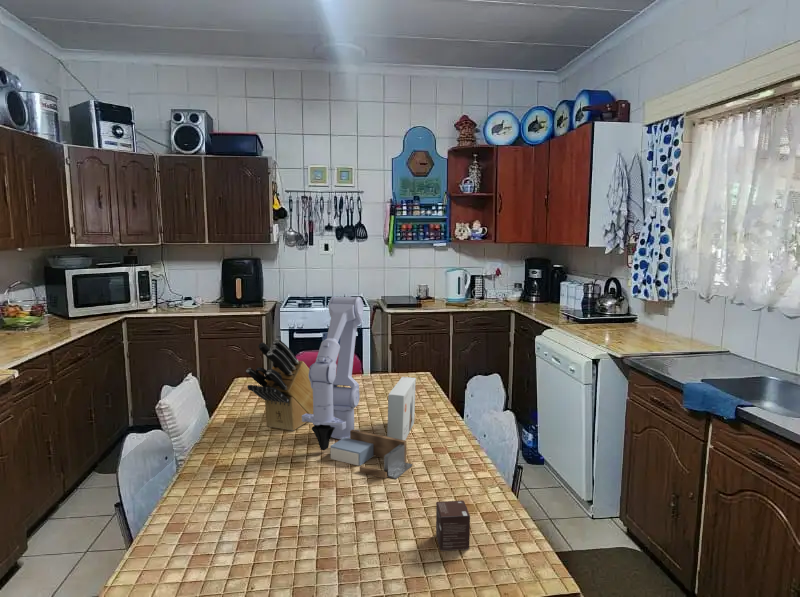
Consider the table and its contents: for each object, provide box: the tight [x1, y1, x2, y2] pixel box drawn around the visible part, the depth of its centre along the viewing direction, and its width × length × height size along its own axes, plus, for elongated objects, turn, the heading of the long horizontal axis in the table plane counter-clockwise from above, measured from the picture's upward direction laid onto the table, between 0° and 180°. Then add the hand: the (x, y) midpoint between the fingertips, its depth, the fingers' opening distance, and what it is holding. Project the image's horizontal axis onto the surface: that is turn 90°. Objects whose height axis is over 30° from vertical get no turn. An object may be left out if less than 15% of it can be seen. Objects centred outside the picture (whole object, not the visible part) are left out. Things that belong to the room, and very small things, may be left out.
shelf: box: [350, 429, 408, 479], centre depth 141 cm, size 18×12×6 cm, turn 61°
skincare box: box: [386, 376, 417, 441], centre depth 162 cm, size 21×6×16 cm, turn 168°
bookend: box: [383, 444, 413, 480], centre depth 136 cm, size 4×9×6 cm, turn 151°
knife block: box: [245, 338, 313, 431], centre depth 172 cm, size 11×35×31 cm, turn 156°
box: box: [435, 499, 471, 552], centre depth 104 cm, size 6×6×7 cm
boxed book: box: [329, 438, 375, 466], centre depth 144 cm, size 10×7×4 cm
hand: (324, 448), depth 148 cm, fingers closed
